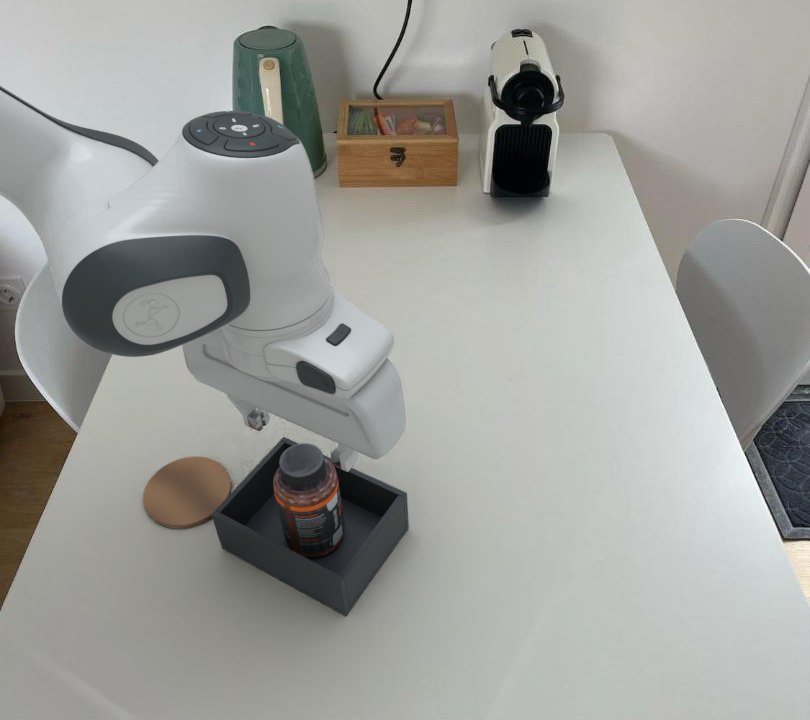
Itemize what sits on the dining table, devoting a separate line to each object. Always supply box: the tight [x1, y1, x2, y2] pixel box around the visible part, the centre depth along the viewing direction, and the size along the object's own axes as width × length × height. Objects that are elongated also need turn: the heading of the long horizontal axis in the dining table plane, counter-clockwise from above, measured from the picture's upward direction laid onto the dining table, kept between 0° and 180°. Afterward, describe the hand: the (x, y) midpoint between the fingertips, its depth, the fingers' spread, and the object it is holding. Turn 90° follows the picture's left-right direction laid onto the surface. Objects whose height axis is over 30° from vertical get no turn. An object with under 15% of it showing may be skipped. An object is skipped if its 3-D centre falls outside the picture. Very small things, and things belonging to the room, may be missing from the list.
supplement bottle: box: [273, 442, 345, 558], centre depth 76 cm, size 6×6×11 cm
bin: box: [211, 436, 410, 617], centre depth 78 cm, size 11×15×6 cm
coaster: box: [142, 456, 233, 529], centre depth 85 cm, size 9×9×1 cm
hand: (300, 443), depth 71 cm, fingers open, 8 cm apart
